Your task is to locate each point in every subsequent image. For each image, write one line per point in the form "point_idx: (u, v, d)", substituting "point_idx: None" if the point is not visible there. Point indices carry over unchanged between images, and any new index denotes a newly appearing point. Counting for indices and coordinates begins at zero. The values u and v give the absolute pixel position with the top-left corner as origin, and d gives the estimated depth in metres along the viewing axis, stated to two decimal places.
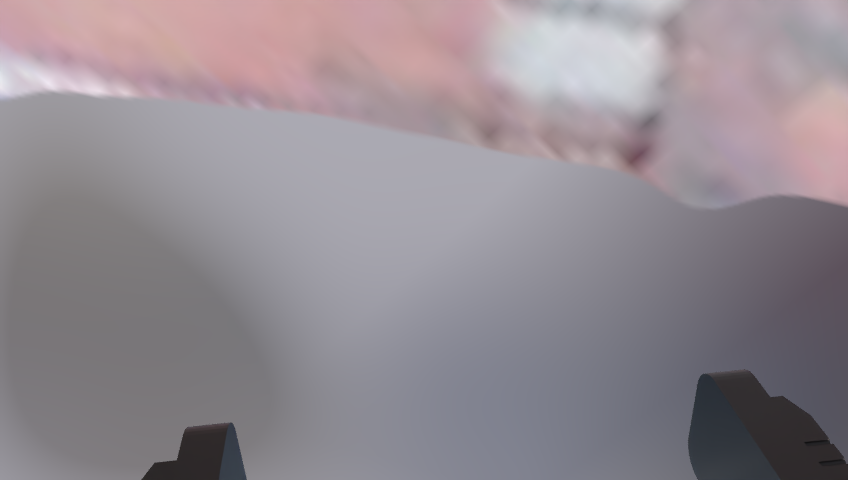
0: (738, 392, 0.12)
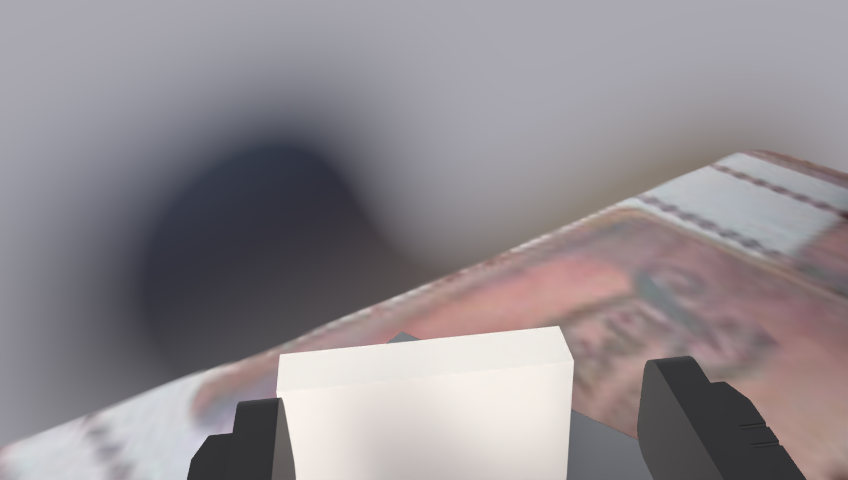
0: (679, 377, 0.12)
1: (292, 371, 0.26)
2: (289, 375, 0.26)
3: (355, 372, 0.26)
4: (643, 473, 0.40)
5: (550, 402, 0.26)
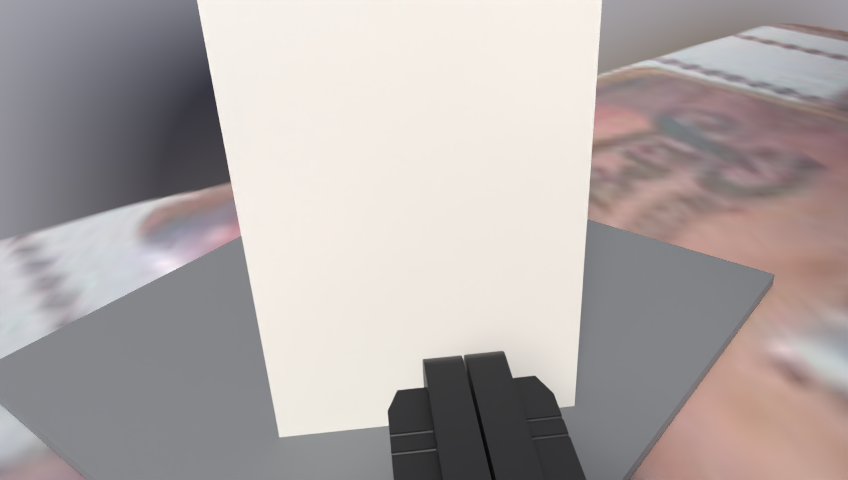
0: (484, 371, 0.13)
1: None
2: None
3: None
4: (675, 270, 0.33)
5: (572, 31, 0.20)
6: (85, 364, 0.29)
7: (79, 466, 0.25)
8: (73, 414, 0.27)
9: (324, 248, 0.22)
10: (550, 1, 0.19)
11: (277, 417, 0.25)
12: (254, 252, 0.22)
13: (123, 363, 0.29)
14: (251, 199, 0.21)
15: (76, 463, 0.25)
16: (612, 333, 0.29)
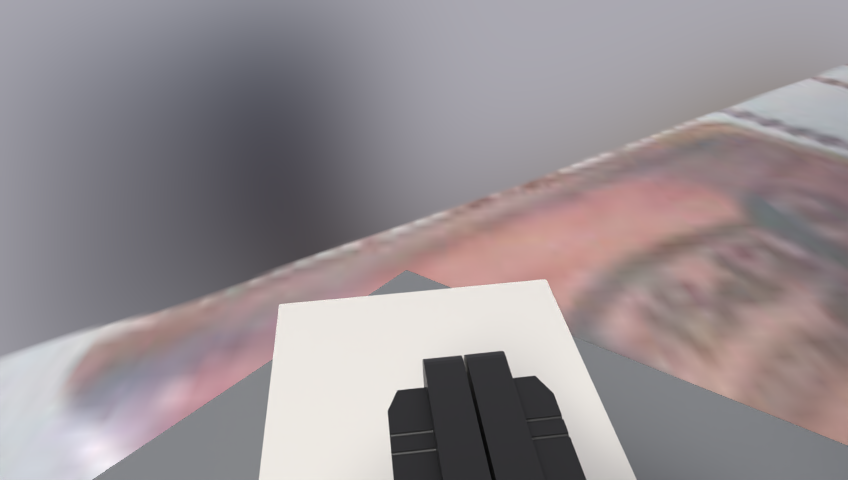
0: (484, 371, 0.13)
1: None
2: None
3: None
4: None
5: (537, 307, 0.27)
6: None
7: None
8: None
9: (342, 443, 0.22)
10: (516, 295, 0.28)
11: None
12: (272, 448, 0.22)
13: None
14: (281, 407, 0.23)
15: None
16: None
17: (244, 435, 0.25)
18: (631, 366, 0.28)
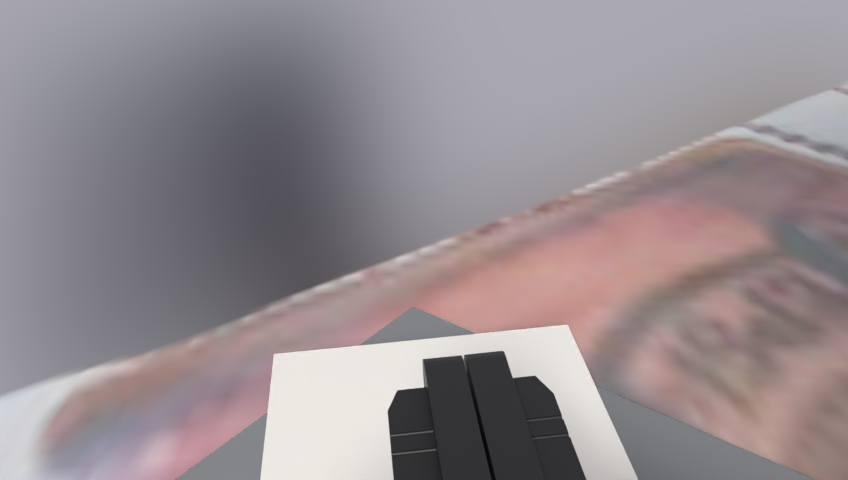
0: (484, 371, 0.13)
1: None
2: None
3: None
4: None
5: (559, 358, 0.24)
6: None
7: None
8: None
9: None
10: (535, 344, 0.25)
11: None
12: None
13: None
14: None
15: None
16: None
17: None
18: (662, 422, 0.25)
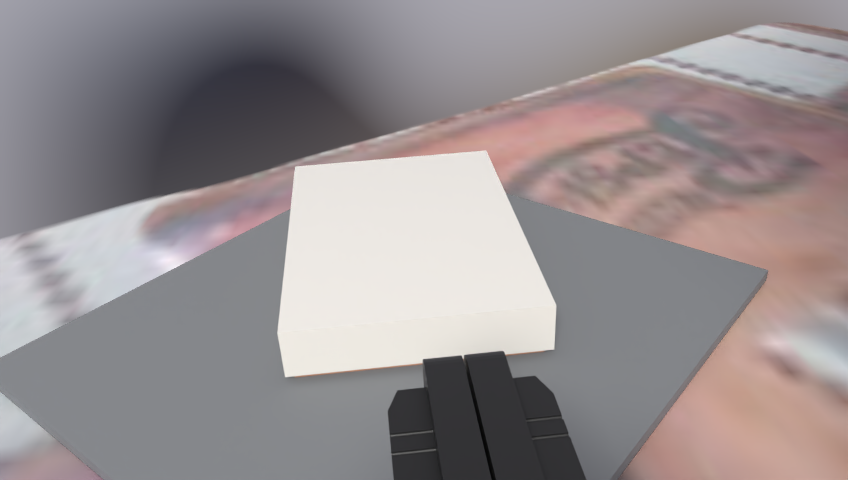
0: (484, 371, 0.13)
1: None
2: None
3: None
4: (671, 266, 0.34)
5: (477, 164, 0.38)
6: (91, 358, 0.30)
7: (86, 458, 0.25)
8: (80, 407, 0.27)
9: (340, 231, 0.33)
10: (463, 159, 0.39)
11: (279, 318, 0.27)
12: (294, 234, 0.33)
13: (128, 357, 0.30)
14: (299, 216, 0.34)
15: (83, 455, 0.25)
16: (608, 328, 0.30)
17: (272, 247, 0.37)
18: (545, 208, 0.39)
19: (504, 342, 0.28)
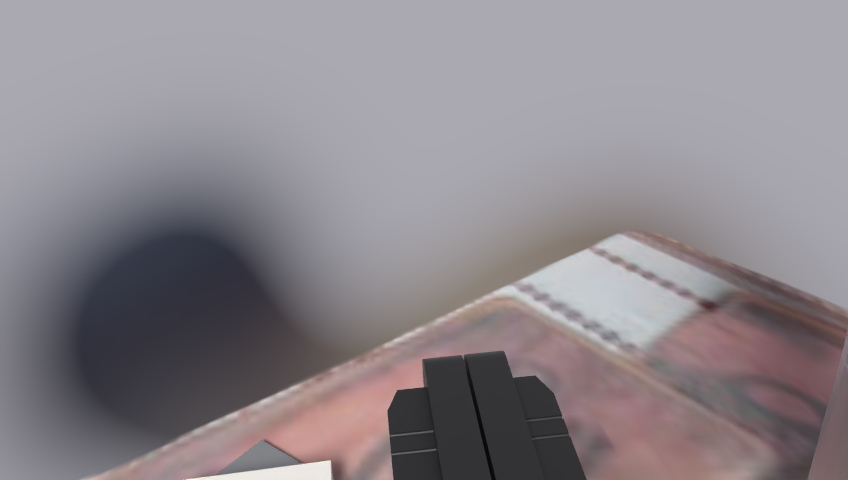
0: (484, 371, 0.13)
1: None
2: None
3: None
4: None
5: None
6: None
7: None
8: None
9: None
10: (309, 473, 0.48)
11: None
12: None
13: None
14: None
15: None
16: None
17: None
18: None
19: None
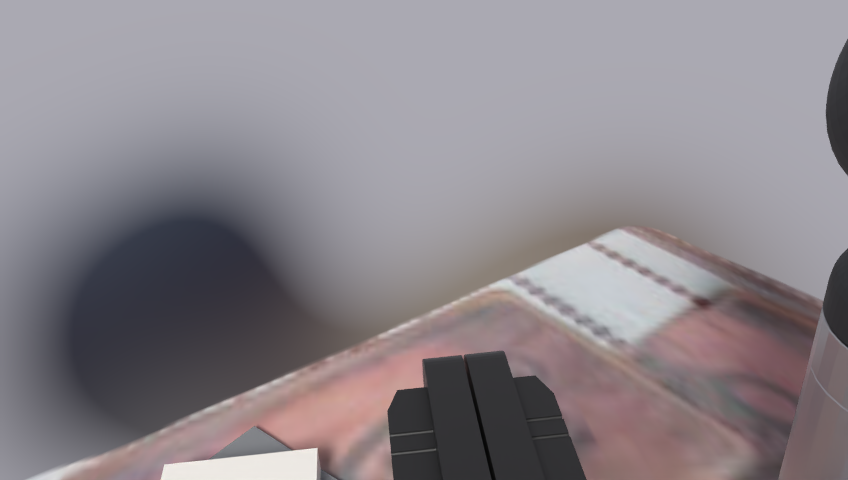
0: (484, 371, 0.13)
1: None
2: None
3: None
4: None
5: (305, 468, 0.49)
6: None
7: None
8: None
9: None
10: (296, 460, 0.50)
11: None
12: None
13: None
14: None
15: None
16: None
17: None
18: None
19: None
